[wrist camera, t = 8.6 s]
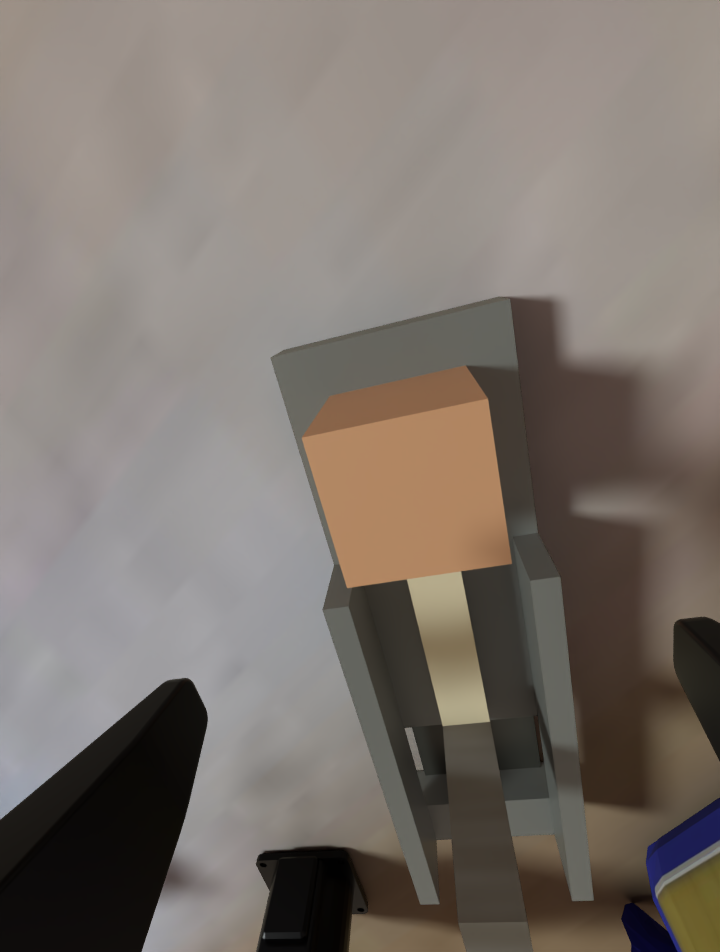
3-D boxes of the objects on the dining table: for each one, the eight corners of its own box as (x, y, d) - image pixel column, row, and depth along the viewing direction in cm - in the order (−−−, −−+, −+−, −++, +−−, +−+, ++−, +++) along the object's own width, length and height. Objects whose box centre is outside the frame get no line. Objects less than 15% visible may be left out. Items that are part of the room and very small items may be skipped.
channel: (562, 795, 27) (593, 900, 23) (418, 805, 29) (420, 904, 24) (499, 296, 17) (532, 302, 13) (283, 350, 19) (243, 372, 14)
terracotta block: (485, 492, 18) (512, 563, 14) (361, 513, 19) (346, 588, 14) (465, 365, 16) (488, 398, 12) (329, 396, 17) (301, 437, 13)
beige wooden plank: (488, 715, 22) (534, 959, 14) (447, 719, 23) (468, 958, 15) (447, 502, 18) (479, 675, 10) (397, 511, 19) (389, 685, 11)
